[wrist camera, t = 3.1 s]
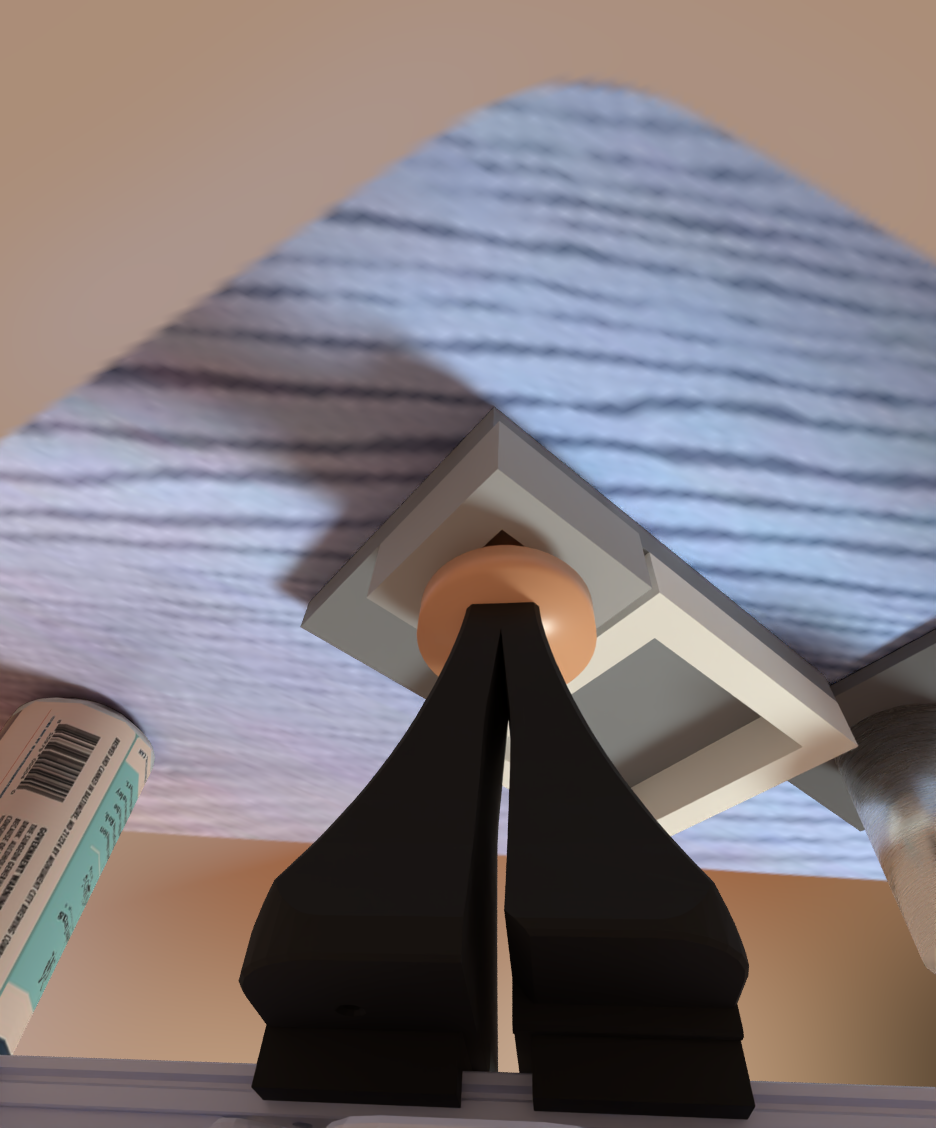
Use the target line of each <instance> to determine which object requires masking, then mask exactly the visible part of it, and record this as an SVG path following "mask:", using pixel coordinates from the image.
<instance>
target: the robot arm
mask: <svg viewBox="0 0 936 1128" xmlns="http://www.w3.org/2000/svg"><path fill="white" fill-rule="evenodd" d="M508 721H509V730H510V779H509V812H508V841H507V863H506V886H505V905H504V912H505V920H506V929H507V937H508V945H509V953H510V962H511V970H512V982H513V983H512V984H513V985H512V989H513V991H512V1002H513V1003H512V1006H513V1007H512V1017H513V1018H512V1020H513V1021H512V1025H513V1034H515V1042H516V1049H517V1057H518V1064H519V1072H520V1073H508V1072H498V1029H497V1028H498V1024H497V1021H498V1020H497V1019H498V1016H497V843H498V825H499V813H500V803H501V792H502V782H503V772H504V762H505V751H506V741H507V730H508ZM748 972H749V964H748V959H747V956H746V952H745V949H744V946H743V944H742V941H741V938H740V936H739V933H738V931H737V928H736V926H735V923H734V921H733V919H732V917H731V915H730V913H729V911H728V908H727V906H726V905H725V903H724V901H723V899H722V897H721V895H720V893H719V891H718V889H717V888H716V885H715V883H714V882H713V881H712V880H711V879H710V878H709V877H708V876H707V875H706V874H705V873H704V872H703V871H702V870H701V869H700V868H699V867H698V866H697V864H696V863H695V862H694V861H693V860H692V859H691V858H690V857H689V856H688V855H687V854H686V853H685V852H684V851H683V850H682V849H681V847H680V846H679V845H678V844H677V843H676V842H675V841H674V840H673V839H672V837H671V836H670V835H669V834H668V833H667V832H666V831H665V829H664V828H663V827H662V826H661V825H660V824H659V823H658V821H657V820H656V819H655V818H654V817H653V815H652V814H651V813H650V812H649V810H648V809H647V808H646V807H645V805H644V804H643V803H642V801H641V800H640V799H639V798H638V796H637V795H636V794H635V793H634V791H633V790H632V789H631V787H630V786H629V785H628V784H627V782H626V781H625V780H624V778H623V777H622V776H621V774H620V773H619V771H618V770H617V769H616V767H615V766H614V764H613V763H612V761H611V760H610V759H609V757H608V756H607V754H606V753H605V751H604V749H603V748H602V746H601V745H600V743H599V742H598V740H597V739H596V737H595V735H594V734H593V732H592V731H591V729H590V727H589V725H588V724H587V722H586V720H585V719H584V717H583V715H582V713H581V711H580V710H579V708H578V706H577V704H576V702H575V700H574V699H573V697H572V695H571V693H570V691H569V689H568V687H567V685H566V682H565V680H564V678H563V676H562V674H561V672H560V669H559V667H558V665H557V663H556V660H555V658H554V656H553V653H552V651H551V648H550V645H549V642H548V640H547V637H546V634H545V631H544V627H543V623H542V619H541V615H540V608H539V606H538V605H537V604H536V603H534V602H518V603H487V604H471V605H470V606H469V607H468V608H467V609H466V613H465V616H464V619H463V622H462V625H461V628H460V631H459V633H458V636H457V638H456V641H455V643H454V645H453V648H452V650H451V652H450V654H449V657H448V659H447V661H446V663H445V665H444V667H443V669H442V671H441V673H440V675H439V677H438V679H437V681H436V683H435V685H434V686H433V688H432V690H431V692H430V693H429V695H428V697H427V699H426V700H425V702H424V704H423V706H422V707H421V709H420V711H419V712H418V714H417V716H416V718H415V719H414V721H413V722H412V724H411V725H410V727H409V729H408V730H407V732H406V733H405V735H404V736H403V738H402V739H401V740H400V742H399V743H398V745H397V746H396V748H395V749H394V750H393V752H392V753H391V755H390V756H389V757H388V759H387V760H386V761H385V763H384V764H383V765H382V766H381V768H380V769H379V770H378V772H377V773H376V774H375V776H374V777H373V778H372V779H371V781H370V782H369V783H368V784H367V786H366V787H365V788H364V789H363V790H362V792H361V793H360V794H359V795H358V796H357V797H356V799H355V800H354V801H353V802H352V803H351V804H350V805H349V806H348V807H347V808H346V810H345V811H344V812H343V813H342V814H341V815H340V816H339V817H338V818H337V819H336V820H335V822H334V823H333V824H332V825H331V826H330V827H329V828H328V829H327V830H326V831H325V832H324V833H323V834H322V835H321V836H320V837H319V838H318V839H317V840H316V841H315V842H314V843H313V844H312V845H311V846H310V847H309V848H308V849H307V850H306V851H305V852H304V853H303V854H302V855H301V856H300V857H298V859H296V860H295V861H294V862H293V863H292V864H291V865H290V866H289V867H288V868H287V869H286V870H285V871H284V872H283V873H282V874H280V875H279V876H278V877H277V878H276V879H275V880H274V882H273V884H272V886H271V888H270V890H269V892H268V894H267V897H266V899H265V901H264V903H263V905H262V908H261V910H260V913H259V915H258V918H257V920H256V922H255V925H254V928H253V930H252V933H251V937H250V941H249V944H248V948H247V952H246V955H245V959H244V963H243V967H242V970H241V974H240V978H239V983H240V985H241V988H242V990H243V992H244V994H245V996H246V997H247V999H248V1000H249V1001H250V1003H251V1004H252V1005H253V1007H254V1008H255V1009H256V1011H257V1012H258V1013H259V1015H260V1016H261V1017H262V1019H263V1020H264V1022H265V1023H266V1024H267V1025H266V1029H265V1033H264V1037H263V1041H262V1045H261V1049H260V1053H259V1057H258V1061H257V1064H247V1063H219V1062H190V1061H161V1060H160V1061H159V1060H131V1059H102V1058H73V1057H45V1056H17V1055H15V1056H14V1055H0V1128H936V1087H912V1086H884V1085H854V1084H826V1083H825V1084H824V1083H797V1082H794V1083H793V1082H768V1081H767V1082H766V1081H750V1079H749V1075H748V1070H747V1066H746V1062H745V1057H744V1053H743V1049H742V1044H741V1040H743V1038H744V1034H743V1027H742V1023H741V1018H740V1014H739V1009H738V1005H737V1002H738V1000H739V997H740V995H741V993H742V990H743V988H744V985H745V982H746V980H747V978H748Z"/></svg>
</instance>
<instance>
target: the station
mask: <svg viewBox="0 0 936 1128" xmlns="http://www.w3.org/2000/svg"><path fill="white" fill-rule="evenodd" d="M501 530H503V531H505V532H506V533H507V534H509V535H510V536H512V537H513V538H514V539H516V540H517V541H518V542H520V543H521V544H522V545H524V546H525V547H529V548H533V549H538V550H540V551H543V552H546V553H549V554H551V555H553V556H555V557H557V558H559V559H561V560H562V561H564V562H565V563H567V564H568V565H569V566H570V567H572V568H573V569H574V570H575V571H576V572H577V573H578V574H579V575H580V577H581V578H582V579H583V581H584V582H585V584H586V585H587V587H588V590H589V592H590V594H591V598H592V602H593V609H594V617H595V624H596V634H597V640H596V647H595V650H594V654H593V656H592V658H591V660H590V662H589V663H588V665H587V666H586V667H585V669H584V670H583V671H582V672H581V673H580V674H579V675H578V676H577V677H576V678H575V679H573V680H572V681H571V682H570V683H568V684H566V685H567V687H568V689H569V691H570V693H571V695H572V697H573V699H574V700H575V702H576V704H577V706H578V708H579V710H580V711H581V713H582V715H583V717H584V719H585V720H586V722H587V724H588V725H589V727H590V729H591V731H592V732H593V734H594V735H595V737H596V739H597V740H598V742H599V743H600V745H601V746H602V748H603V749H604V751H605V753H606V754H607V756H608V757H609V759H610V760H611V761H612V763H613V764H614V766H615V767H616V769H617V770H618V771H619V773H620V774H621V776H622V777H623V778H624V780H625V781H626V782H627V784H628V785H629V786H630V787H631V789H632V790H633V791H634V793H635V794H636V795H637V796H638V798H639V799H640V800H641V801H642V803H643V804H644V805H645V807H646V808H647V809H648V810H649V812H650V813H651V814H652V815H653V817H654V818H655V819H656V820H657V821H658V823H659V824H660V825H661V826H662V827H663V828H664V829H665V831H666V832H667V833H668V834H669V835H670V836H672V835H674V834H677V833H679V832H681V831H683V830H685V829H687V828H689V827H691V826H693V825H695V824H697V823H700V822H702V821H704V820H706V819H708V818H710V817H712V816H714V815H716V814H718V813H720V812H722V811H725V810H727V809H729V808H731V807H733V806H735V805H737V804H739V803H741V802H743V801H745V800H747V799H750V798H752V797H754V796H756V795H758V794H760V793H762V792H764V791H766V790H768V789H770V788H772V787H775V786H777V785H779V784H781V783H783V782H785V781H787V780H789V779H791V778H793V777H795V776H797V775H800V774H802V773H804V772H806V771H808V770H810V769H812V768H814V767H816V766H818V765H820V764H822V763H825V762H827V761H829V760H831V759H833V758H835V757H837V756H839V755H841V754H843V753H845V752H848V751H850V750H852V749H854V748H856V747H858V744H857V742H856V740H855V738H854V736H853V734H852V732H851V730H850V728H849V726H848V724H847V722H846V719H845V717H844V715H843V713H842V711H841V709H840V707H839V705H838V703H837V701H836V699H835V697H834V694H833V692H832V690H831V688H830V686H829V684H828V682H827V680H826V678H825V676H824V675H823V674H821V673H820V672H819V671H818V670H817V669H815V668H814V667H813V666H812V665H810V664H809V663H808V662H807V661H805V660H804V659H803V658H802V657H801V656H799V655H798V654H797V653H796V652H794V651H793V650H792V649H791V648H790V647H788V646H787V645H786V644H785V643H783V642H782V641H781V640H780V639H778V638H777V637H776V636H775V635H774V634H772V633H771V632H770V631H769V630H767V629H766V628H765V627H764V626H763V625H761V624H760V623H759V622H758V621H756V620H755V619H754V618H753V617H751V616H750V615H749V614H748V613H747V612H745V611H744V610H743V609H742V608H740V607H739V606H738V605H737V604H736V603H734V602H733V601H732V600H731V599H729V598H728V597H727V596H726V595H724V594H723V593H722V592H721V591H720V590H718V589H717V588H716V587H715V586H713V585H712V584H711V583H710V582H709V581H707V580H706V579H705V578H704V577H702V576H701V575H700V574H699V573H697V572H696V571H695V570H694V569H693V568H691V567H690V566H689V565H688V564H686V563H685V562H684V561H683V560H682V559H680V558H679V557H678V556H677V555H675V554H674V553H673V552H672V551H671V550H669V549H668V548H667V547H666V546H664V545H663V544H662V543H661V542H659V541H658V540H657V539H656V538H655V537H653V536H652V535H651V534H650V533H648V532H647V531H646V530H645V529H644V528H642V527H641V526H640V525H639V524H637V523H636V522H635V521H634V520H632V519H631V518H630V517H629V516H628V515H626V514H625V513H624V512H623V511H621V510H620V509H619V508H618V507H617V506H615V505H614V504H613V503H612V502H610V501H609V500H608V499H607V498H605V497H604V496H603V495H602V494H601V493H599V492H598V491H597V490H596V489H594V488H593V487H592V486H591V485H590V484H588V483H587V482H586V481H585V480H583V479H582V478H581V477H580V476H578V475H577V474H576V473H575V472H574V471H572V470H571V469H570V468H569V467H567V466H566V465H565V464H564V463H563V462H561V461H560V460H559V459H558V458H556V457H555V456H554V455H553V454H551V453H550V452H549V451H548V450H547V449H545V448H544V447H543V446H542V445H540V444H539V443H538V442H537V441H536V440H534V439H533V438H532V437H531V436H529V435H528V434H527V433H526V432H525V431H523V430H522V429H521V428H520V427H518V426H517V425H516V424H515V423H513V422H512V421H511V420H510V419H509V418H507V417H506V416H505V415H504V414H502V413H501V412H500V411H499V410H498V409H496V408H495V407H494V408H493V409H492V410H491V411H490V412H489V413H488V414H487V415H486V416H485V417H484V418H483V419H482V420H481V421H480V422H479V424H478V425H477V426H476V427H475V428H474V429H473V430H472V431H471V432H470V433H469V434H468V435H467V436H466V437H465V438H464V439H463V440H462V441H461V443H460V444H459V445H458V446H457V447H456V448H455V449H454V450H453V451H452V452H451V453H450V454H449V455H448V456H447V457H446V458H445V459H444V461H443V462H442V463H441V464H440V465H439V466H438V467H437V468H436V469H435V470H434V471H433V472H432V473H431V474H430V475H429V476H428V477H427V478H426V480H425V481H424V482H423V483H422V484H421V485H420V486H419V487H418V488H417V489H416V490H415V491H414V492H413V493H412V494H411V495H410V496H409V498H408V499H407V500H406V501H405V502H404V503H403V504H402V505H401V506H400V507H399V508H398V509H397V510H396V511H395V512H394V513H393V514H392V515H391V517H390V518H389V519H388V520H387V521H386V522H385V523H384V524H383V525H382V526H381V527H380V528H379V529H378V530H377V531H376V532H375V533H374V535H373V536H372V537H371V538H370V539H369V540H368V541H367V542H366V543H365V544H364V545H363V546H362V547H361V548H360V549H359V550H358V551H357V552H356V554H355V555H354V556H353V557H352V558H351V559H350V560H349V561H348V562H347V563H346V564H345V565H344V566H343V567H342V568H341V569H340V570H339V572H338V573H337V574H336V575H335V576H334V577H333V578H332V579H331V580H330V581H329V582H328V583H327V584H326V585H325V586H324V587H323V588H322V590H321V591H320V592H319V593H318V594H317V595H316V596H315V597H314V598H313V599H312V600H311V601H310V602H309V604H308V607H307V610H306V613H305V615H304V618H303V621H302V624H301V628H303V629H305V630H307V631H308V632H310V633H312V634H314V635H315V636H317V637H319V638H321V639H322V640H324V641H326V642H327V643H329V644H331V645H333V646H334V647H336V648H338V649H340V650H341V651H343V652H345V653H347V654H348V655H350V656H352V657H353V658H355V659H357V660H359V661H360V662H362V663H364V664H366V665H367V666H369V667H371V668H373V669H374V670H376V671H378V672H379V673H381V674H383V675H385V676H386V677H388V678H390V679H392V680H393V681H395V682H397V683H399V684H400V685H402V686H404V687H405V688H407V689H409V690H411V691H412V692H414V693H416V694H418V695H419V696H421V697H423V698H425V699H427V697H428V695H429V693H430V692H431V690H432V688H433V686H434V685H435V683H436V681H437V679H438V676H437V675H436V674H435V673H434V672H433V671H432V670H431V669H430V668H429V667H428V665H427V664H426V662H425V661H424V659H423V657H422V655H421V653H420V650H419V647H418V643H417V625H418V619H419V613H420V607H421V600H422V596H423V593H424V590H425V588H426V586H427V584H428V582H429V581H430V579H431V578H432V576H433V575H434V574H435V573H436V572H437V571H438V570H439V569H440V568H441V567H442V566H443V565H445V564H446V563H447V562H449V561H450V560H452V559H453V558H455V557H457V556H459V555H461V554H464V553H466V552H468V551H472V550H475V549H478V548H482V547H483V546H485V545H486V544H487V543H488V542H489V541H490V540H491V539H492V538H493V537H494V536H495V535H497V534H498V533H499V532H500V531H501ZM509 779H510V730H509V721H508V730H507V741H506V751H505V762H504V772H503V782H502V786H504V787H506V788H508V789H509Z"/></svg>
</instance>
